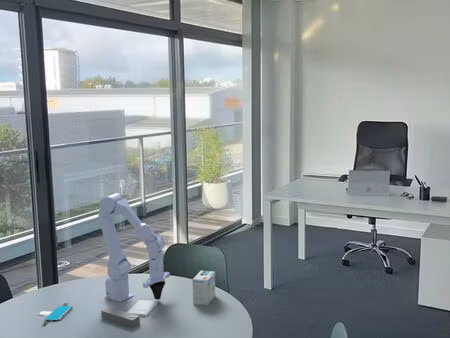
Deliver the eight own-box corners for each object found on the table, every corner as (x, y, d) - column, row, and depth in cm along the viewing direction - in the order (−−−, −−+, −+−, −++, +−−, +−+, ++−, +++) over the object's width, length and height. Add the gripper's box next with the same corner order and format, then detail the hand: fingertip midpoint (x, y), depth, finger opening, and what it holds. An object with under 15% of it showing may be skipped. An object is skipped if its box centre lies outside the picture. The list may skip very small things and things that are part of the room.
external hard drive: (157, 304, 192) (146, 318, 180) (138, 303, 194) (126, 316, 182) (157, 301, 192) (146, 314, 180) (138, 299, 194) (126, 312, 182)
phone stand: (51, 304, 194) (51, 300, 194) (79, 305, 193) (78, 301, 193) (26, 326, 175) (25, 322, 174) (56, 327, 173) (56, 323, 173)
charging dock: (101, 318, 179) (101, 310, 179) (109, 314, 183) (109, 306, 182) (132, 328, 171) (132, 319, 170) (140, 323, 174) (139, 315, 174)
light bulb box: (200, 294, 201) (200, 269, 200) (215, 295, 199) (215, 271, 198) (192, 304, 191) (191, 278, 189) (208, 305, 189) (207, 280, 188)
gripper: (152, 274, 184) (153, 307, 186) (175, 263, 197) (176, 294, 198) (138, 271, 188) (139, 303, 190) (162, 260, 200) (163, 291, 202)
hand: (157, 298), depth 194 cm, fingers closed
